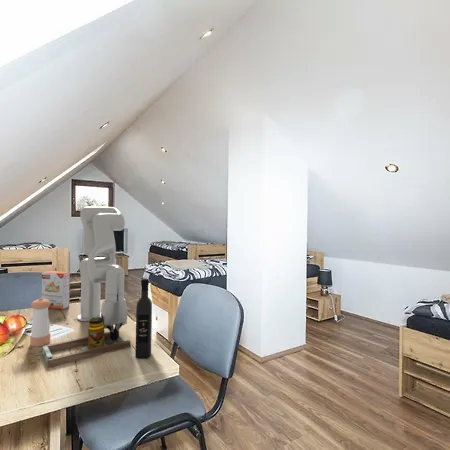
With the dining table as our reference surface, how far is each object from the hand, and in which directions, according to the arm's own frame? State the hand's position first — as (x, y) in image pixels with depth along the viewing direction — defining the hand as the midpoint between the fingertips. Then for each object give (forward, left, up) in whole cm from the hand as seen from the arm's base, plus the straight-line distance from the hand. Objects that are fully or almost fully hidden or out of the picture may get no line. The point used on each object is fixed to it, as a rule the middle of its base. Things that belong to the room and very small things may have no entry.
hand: (114, 339), depth 132 cm
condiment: (0, -8, -2) cm, 8 cm away
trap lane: (0, -11, -2) cm, 11 cm away
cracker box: (-70, -10, -2) cm, 71 cm away
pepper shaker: (-18, -25, -2) cm, 31 cm away
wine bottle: (+18, +5, -2) cm, 19 cm away
